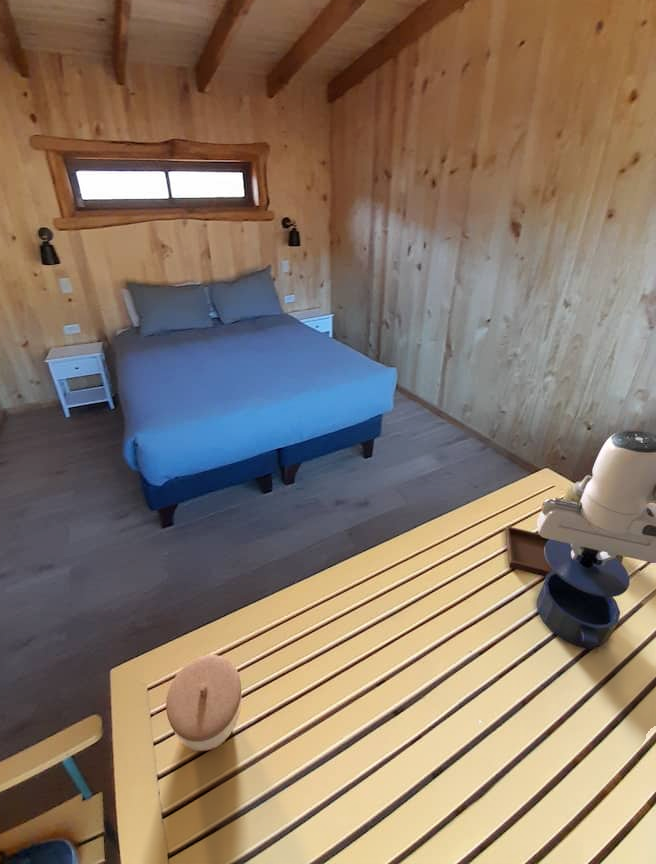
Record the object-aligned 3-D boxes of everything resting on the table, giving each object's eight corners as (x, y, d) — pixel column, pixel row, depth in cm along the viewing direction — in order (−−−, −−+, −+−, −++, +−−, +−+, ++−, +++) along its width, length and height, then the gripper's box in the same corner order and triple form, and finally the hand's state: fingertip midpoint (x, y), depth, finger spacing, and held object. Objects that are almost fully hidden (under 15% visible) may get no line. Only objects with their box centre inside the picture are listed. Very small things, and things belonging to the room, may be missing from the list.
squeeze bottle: (547, 515, 115) (565, 465, 107) (577, 517, 114) (598, 467, 105) (559, 537, 108) (580, 485, 99) (592, 540, 106) (615, 488, 98)
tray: (577, 548, 104) (580, 543, 103) (589, 588, 94) (592, 582, 93) (505, 531, 110) (506, 526, 109) (509, 567, 100) (510, 561, 99)
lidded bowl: (180, 781, 65) (169, 748, 60) (169, 699, 76) (159, 666, 71) (254, 741, 70) (249, 708, 65) (234, 670, 80) (229, 636, 75)
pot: (595, 590, 94) (605, 569, 91) (621, 672, 78) (634, 651, 75) (531, 573, 98) (538, 553, 95) (543, 648, 82) (552, 627, 79)
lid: (614, 549, 85) (623, 531, 83) (639, 609, 73) (649, 591, 71) (538, 531, 90) (544, 514, 88) (549, 585, 78) (556, 567, 76)
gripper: (548, 507, 75) (530, 558, 82) (683, 535, 69) (653, 588, 75) (543, 485, 81) (527, 535, 87) (668, 510, 74) (641, 561, 80)
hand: (586, 560), depth 81 cm, fingers closed on lid, 2 cm apart
